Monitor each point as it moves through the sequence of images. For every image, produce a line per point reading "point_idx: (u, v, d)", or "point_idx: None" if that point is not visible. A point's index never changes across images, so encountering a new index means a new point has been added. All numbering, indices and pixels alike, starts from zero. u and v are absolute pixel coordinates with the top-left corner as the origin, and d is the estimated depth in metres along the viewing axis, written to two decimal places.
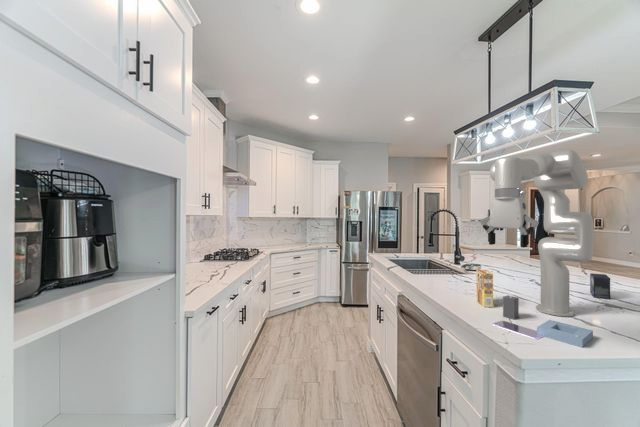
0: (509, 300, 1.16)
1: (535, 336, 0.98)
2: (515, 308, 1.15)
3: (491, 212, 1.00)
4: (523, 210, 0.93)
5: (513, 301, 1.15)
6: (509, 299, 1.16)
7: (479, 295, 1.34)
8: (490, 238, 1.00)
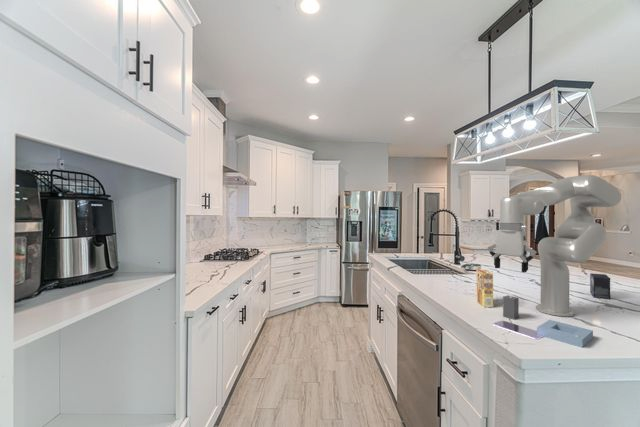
0: (509, 300, 1.16)
1: (535, 336, 0.98)
2: (515, 308, 1.15)
3: (497, 241, 1.19)
4: (524, 241, 1.13)
5: (513, 301, 1.15)
6: (509, 299, 1.16)
7: (479, 295, 1.34)
8: (496, 263, 1.20)
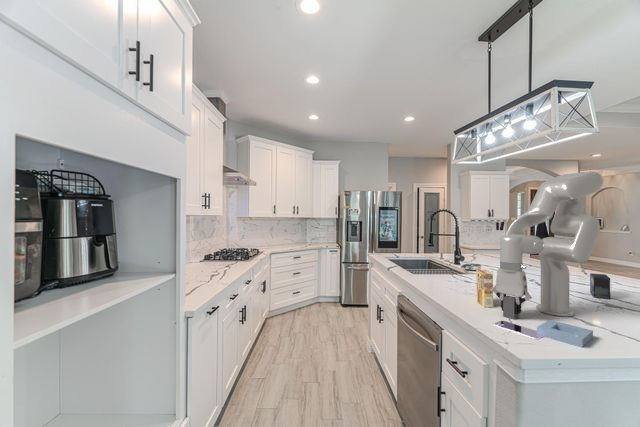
0: (509, 300, 1.16)
1: (535, 336, 0.98)
2: None
3: (497, 280, 1.20)
4: (524, 282, 1.13)
5: (513, 301, 1.15)
6: (509, 299, 1.16)
7: (479, 295, 1.34)
8: None
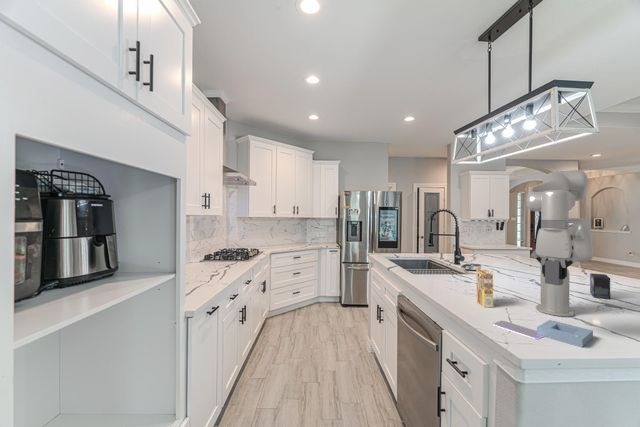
0: (552, 264, 1.01)
1: (535, 336, 0.98)
2: None
3: (537, 241, 1.04)
4: (571, 241, 0.98)
5: (557, 265, 1.00)
6: (552, 262, 1.01)
7: (479, 295, 1.34)
8: None
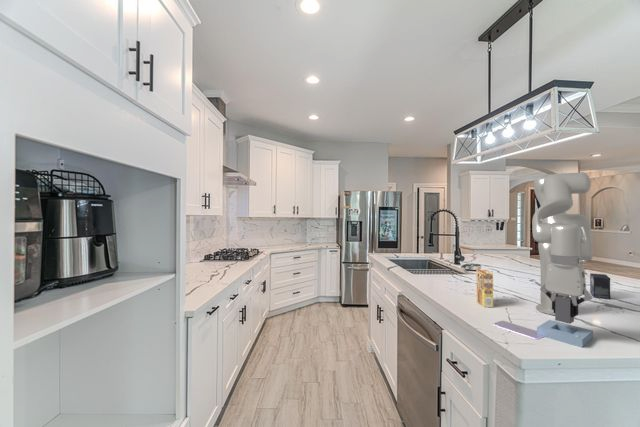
0: (563, 301, 0.98)
1: (535, 336, 0.98)
2: None
3: (547, 276, 1.01)
4: (583, 279, 0.95)
5: (569, 302, 0.97)
6: (563, 299, 0.98)
7: (479, 295, 1.34)
8: None
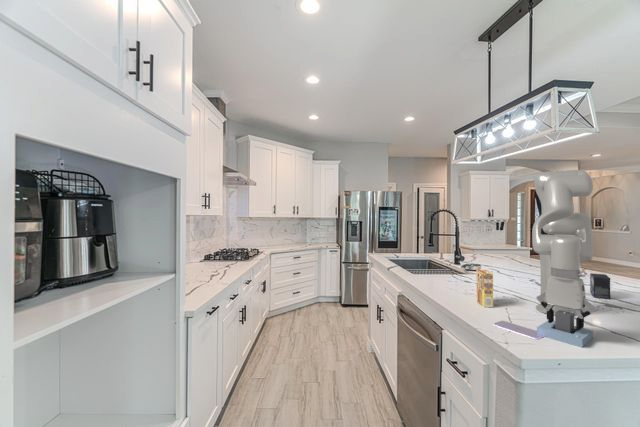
0: (563, 317, 0.98)
1: (535, 336, 0.98)
2: (571, 326, 0.97)
3: (547, 289, 1.02)
4: (582, 292, 0.95)
5: (568, 318, 0.97)
6: (563, 315, 0.98)
7: (479, 295, 1.34)
8: (549, 317, 1.01)
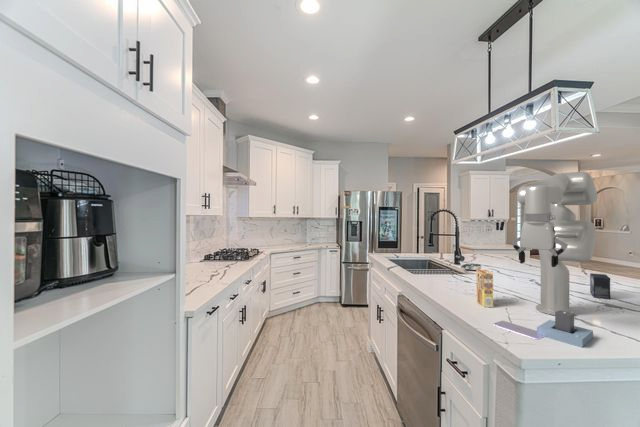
0: (563, 317, 0.98)
1: (535, 336, 0.98)
2: (571, 326, 0.97)
3: (522, 234, 1.10)
4: (553, 234, 1.04)
5: (568, 318, 0.97)
6: (563, 315, 0.98)
7: (479, 295, 1.34)
8: (521, 257, 1.11)
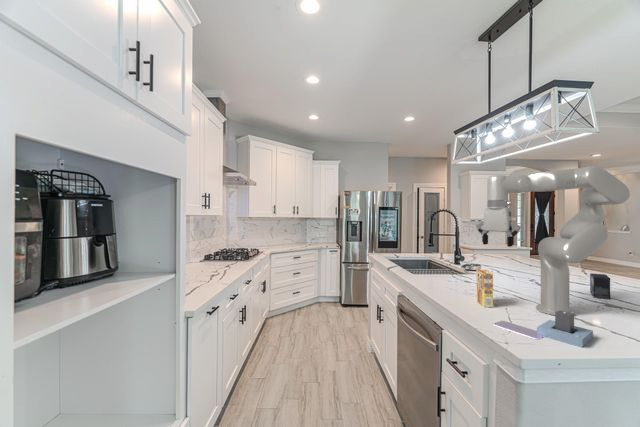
0: (563, 317, 0.98)
1: (535, 336, 0.98)
2: (571, 326, 0.97)
3: (484, 218, 1.25)
4: (509, 217, 1.19)
5: (568, 318, 0.97)
6: (563, 315, 0.98)
7: (479, 295, 1.34)
8: (484, 239, 1.26)
